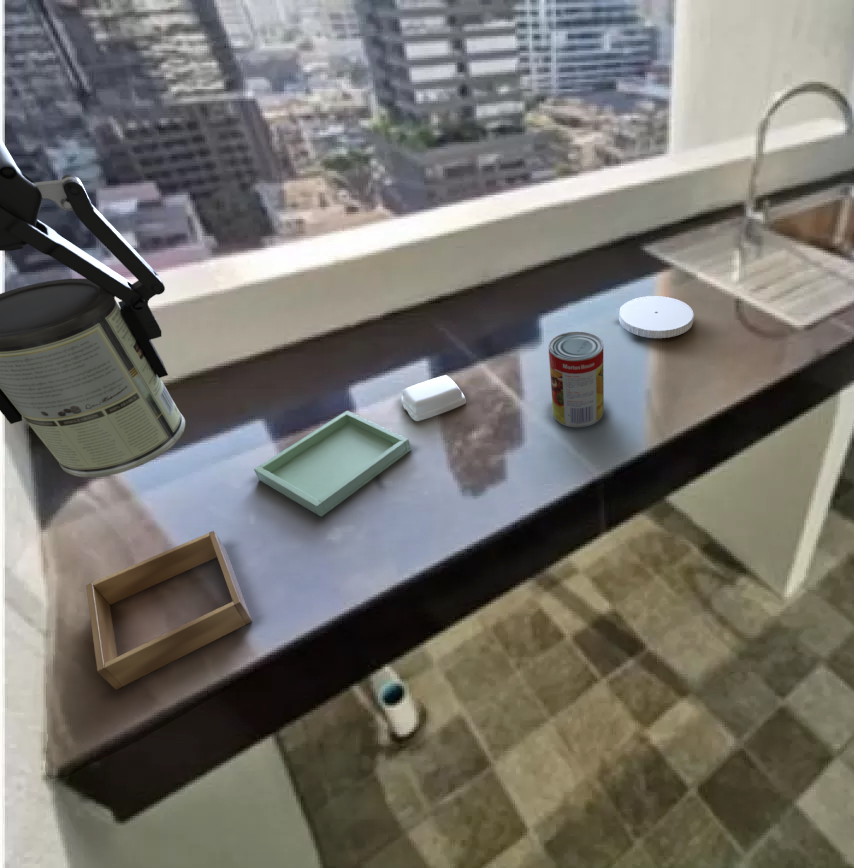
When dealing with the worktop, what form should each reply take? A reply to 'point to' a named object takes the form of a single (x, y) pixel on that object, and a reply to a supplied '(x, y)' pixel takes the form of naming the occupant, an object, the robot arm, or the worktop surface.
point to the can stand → (175, 641)
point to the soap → (432, 398)
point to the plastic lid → (656, 317)
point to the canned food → (577, 378)
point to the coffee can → (83, 378)
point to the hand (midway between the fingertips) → (92, 391)
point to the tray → (333, 462)
